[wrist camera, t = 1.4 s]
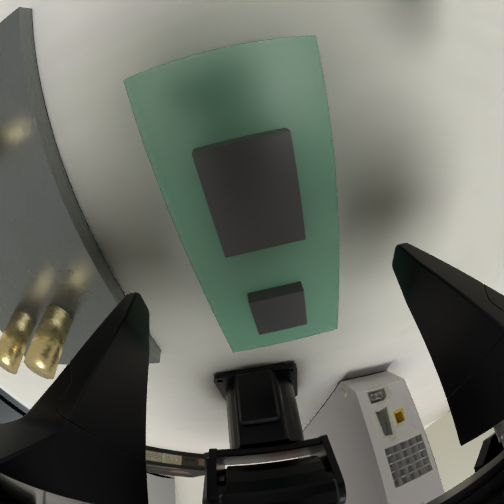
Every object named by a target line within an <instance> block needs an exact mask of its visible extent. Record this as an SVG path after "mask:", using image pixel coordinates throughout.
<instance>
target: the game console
mask: <svg viewBox="0 0 504 504" xmlns="http://www.w3.org/2000/svg"><path fill="white" fill-rule="evenodd" d="M326 434H327V436H328V439H329V441H330V444H331V447H332V449H333V452H334V455H335V457H336V460H337V462H338V465H339V468H340V470H341V473H342V476H343V479H344V482H345V487H346V502H345V504H426V503H428V502H430V501H431V500H433V499H435V498H437V497H439V496H440V495H442V494H444V490H443V486H442V483H441V479H440V476H439V472H438V469H437V466H436V463H435V459H434V456H433V453H432V450H431V447H430V445H429V441H428V439H427V436H426V433H425V431H424V427H423V425H422V422H421V419H420V417H419V414H418V412H417V409H416V407H415V404H414V402H413V399H412V397H411V394H410V392H409V389H408V387H407V385H406V382H405V380H404V379H403V378H401V377H399V376H397V375H394V374H392V373H390V372H388V371H385V372H381V373H377V374H373V375H368V376H364V377H359V378H355V379H350V380H345V381H341V382H340V383H339V385H338V386H337V388H336V389H335V391H334V392H333V393H332V395H331V396H330V398H329V399H328V400H327V402H326V403H325V404H324V406H323V407H322V408H321V410H320V411H319V412H318V414H317V415H316V416H315V417H314V419H313V420H312V421H311V422H310V424H309V425H308V426H307V427H306V429H305V430H304V431H303V436H304V440H308V439H313V438H318V437H319V436H322V435H326ZM309 456H311V455H306V456H301V457H298V458H304V457H309Z"/></svg>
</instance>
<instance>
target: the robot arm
mask: <svg viewBox="0 0 504 504" xmlns="http://www.w3.org/2000/svg"><path fill="white" fill-rule="evenodd" d="M392 267H393V270H394V273H395V275H396V278H397V280H398V283H399V285H400V288H401V290H402V293H403V295H404V298H405V300H406V303H407V305H408V307H409V309H410V311H411V313H412V316H413V318H414V320H415V322H416V324H417V326H418V328H419V330H420V333H421V335H422V337H423V339H424V342H425V344H426V346H427V349H428V351H429V353H430V356H431V358H432V361H433V363H434V366H435V368H436V371H437V373H438V376H439V378H440V381H441V384H442V387H443V389H444V392H445V395H446V398H447V401H448V404H449V407H450V410H451V414H452V416H453V420H454V423H455V427H456V430H457V434H458V437H459V441H460V444H461V446H462V445H464V444H466V443H467V442H469V441H471V440H473V439H474V438H476V437H478V436H479V435H481V434H483V433H485V432H486V431H488V430H489V429H491V428H492V427H493V428H494V430H495V432H494V433H493V434H492V435H491V436H489V437H488V438H487V439H485V440H484V441H483V445H482V448H481V450H480V453H479V456H478V459H477V462H476V464H475V467H474V469H475V473H474V474H473V475H472V476H470V477H469V478H467V479H466V480H464V481H463V482H462V483H460V484H458V485H457V486H455V487H454V488H452V489H451V490H449V491H447V492H445V493H444V494H442V495H440V496H439V497H437V498H435V499H433V500H431V501H430V502H428V503H426V504H504V295H502V294H500V293H498V292H497V291H495V290H493V289H491V288H490V287H488V286H486V285H485V284H483V283H481V282H480V281H478V280H476V279H474V278H473V277H471V276H469V275H467V274H466V273H464V272H462V271H460V270H458V269H456V268H455V267H453V266H451V265H449V264H447V263H445V262H443V261H442V260H440V259H438V258H436V257H434V256H432V255H430V254H428V253H426V252H424V251H422V250H420V249H418V248H416V247H414V246H412V245H410V244H408V243H403V244H398V245H397V246H396V248H395V252H394V257H393V262H392ZM149 349H150V346H149V310H148V308H147V306H146V304H145V302H144V301H143V299H142V297H141V295H140V294H139V293H137V292H135V293H129V294H127V295H126V296H125V297H124V298H123V299H122V300H121V301H120V303H119V304H118V305H117V306H116V307H115V308H114V309H113V311H112V312H111V313H110V314H109V315H108V316H107V317H106V319H105V320H104V321H103V322H102V323H101V325H100V326H99V327H98V328H97V329H96V330H95V332H94V333H93V334H92V335H91V336H90V338H89V339H88V340H87V341H86V342H85V344H84V345H83V346H82V347H81V349H80V350H79V351H78V352H77V354H76V355H75V356H74V357H73V359H72V360H71V361H70V363H69V364H68V365H67V366H66V368H65V369H64V370H63V371H62V373H61V374H60V375H59V376H58V378H57V379H56V380H55V381H54V383H53V384H52V385H51V386H50V387H49V388H48V390H47V391H46V392H45V393H44V394H43V395H42V397H41V398H40V399H39V400H38V401H37V402H36V404H35V405H34V406H33V407H32V408H31V409H30V411H29V412H28V413H27V414H26V415H25V416H23V417H22V418H20V419H18V420H15V421H12V422H8V423H4V424H0V504H148V493H147V475H146V474H147V473H146V400H147V381H148V366H149ZM214 383H215V384H216V386H217V388H218V389H219V391H220V392H221V394H222V395H223V397H224V399H225V400H226V402H227V416H228V429H229V442H230V449H222V450H217V449H209V452H208V453H204V460H205V477H204V487H203V497H202V504H345V502H346V487H345V482H344V479H343V476H342V473H341V470H340V468H339V465H338V462H337V460H336V457H335V455H334V452H333V449H332V447H331V444H330V441H329V439H328V436H327V434H326V435H322V436H319V437H318V438H313V439H308V440H304V436H303V431H302V426H301V422H300V417H299V412H298V407H297V403H296V398H295V397H296V396H297V368H296V364H295V363H286V364H281V365H275V366H270V367H264V368H258V369H251V370H245V371H238V372H230V373H223V374H216V375H214ZM306 455H311V456H309V457H304V458H298V459H293V460H286V461H280V462H272V463H264V464H255V465H243V466H228V467H227V469H225V465H235V464H249V463H260V462H269V461H276V460H283V459H290V458H296V457H301V456H306Z"/></svg>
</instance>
